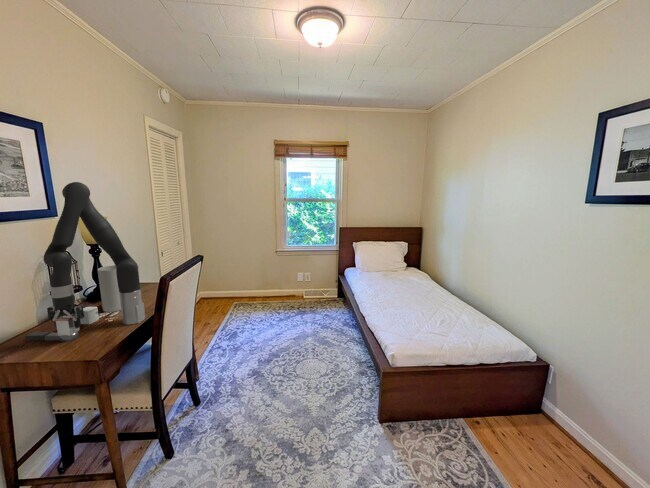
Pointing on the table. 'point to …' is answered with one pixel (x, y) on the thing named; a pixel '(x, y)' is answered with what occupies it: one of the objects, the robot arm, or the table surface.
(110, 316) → the table surface
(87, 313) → the skincare box
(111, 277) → the cylinder vase
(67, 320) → the white rectangular block
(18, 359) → the table surface
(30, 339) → the ratchet
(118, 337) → the table surface
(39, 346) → the table surface
